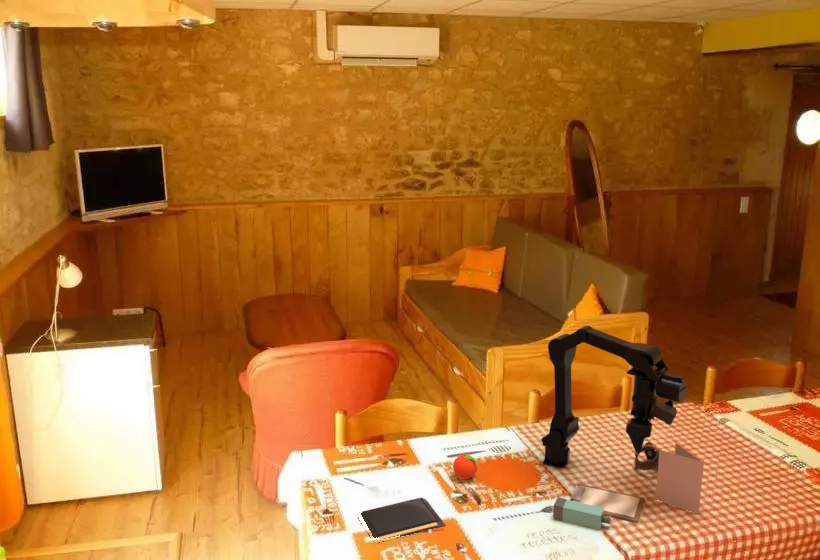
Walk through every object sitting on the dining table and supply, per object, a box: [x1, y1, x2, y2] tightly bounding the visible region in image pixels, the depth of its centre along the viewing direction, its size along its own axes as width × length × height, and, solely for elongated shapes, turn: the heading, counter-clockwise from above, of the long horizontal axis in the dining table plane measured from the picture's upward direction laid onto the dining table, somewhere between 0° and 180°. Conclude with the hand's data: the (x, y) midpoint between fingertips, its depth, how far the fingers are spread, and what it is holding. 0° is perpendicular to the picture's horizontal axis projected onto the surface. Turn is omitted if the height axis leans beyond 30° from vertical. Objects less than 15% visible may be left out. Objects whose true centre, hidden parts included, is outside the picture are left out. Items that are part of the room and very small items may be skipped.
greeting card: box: [655, 442, 705, 515], centre depth 189 cm, size 11×7×15 cm, turn 17°
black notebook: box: [361, 497, 446, 539], centre depth 186 cm, size 20×2×15 cm
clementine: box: [452, 453, 480, 480], centre depth 205 cm, size 8×7×7 cm
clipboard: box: [569, 483, 645, 524], centre depth 192 cm, size 18×12×1 cm, turn 64°
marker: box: [552, 496, 612, 531], centre depth 184 cm, size 14×4×4 cm, turn 64°
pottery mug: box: [634, 441, 661, 471], centre depth 210 cm, size 12×10×8 cm
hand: (640, 445), depth 195 cm, fingers open, 9 cm apart
